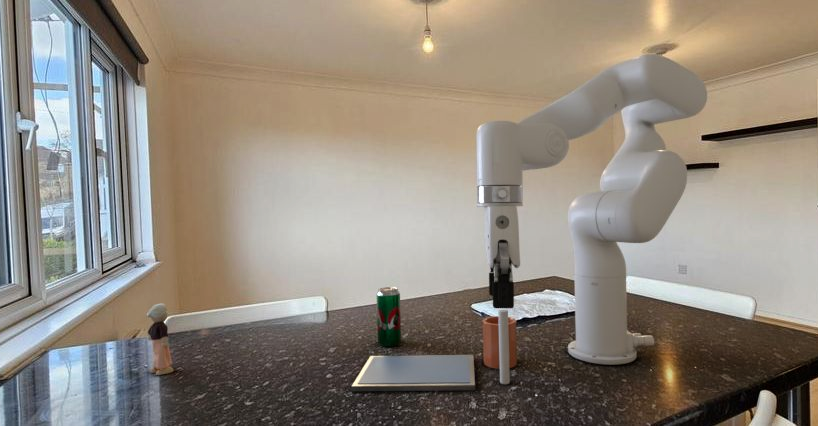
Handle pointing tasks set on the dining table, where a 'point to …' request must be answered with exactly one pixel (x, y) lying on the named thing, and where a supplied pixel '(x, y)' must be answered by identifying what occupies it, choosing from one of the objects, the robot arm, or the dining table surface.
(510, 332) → the pen cup
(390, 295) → the soda can
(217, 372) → the dining table surface
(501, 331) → the stylus
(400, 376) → the tablet
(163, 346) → the grandmother figurine
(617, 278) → the robot arm
